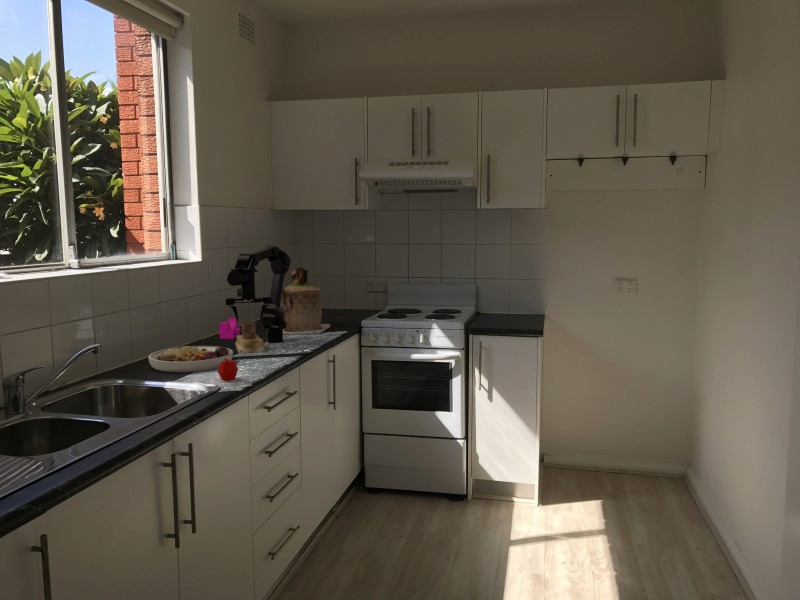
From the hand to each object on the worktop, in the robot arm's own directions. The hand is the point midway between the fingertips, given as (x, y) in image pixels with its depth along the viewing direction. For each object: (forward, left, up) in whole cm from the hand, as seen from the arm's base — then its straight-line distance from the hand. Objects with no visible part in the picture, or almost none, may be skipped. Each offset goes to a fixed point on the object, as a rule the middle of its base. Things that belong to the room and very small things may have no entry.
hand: (249, 321), depth 279 cm
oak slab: (0, 0, -10) cm, 10 cm away
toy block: (+6, -38, -13) cm, 40 cm away
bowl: (+23, +24, -13) cm, 36 cm away
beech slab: (0, 0, -13) cm, 13 cm away
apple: (+11, +54, -12) cm, 56 cm away
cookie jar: (-28, -42, -13) cm, 52 cm away
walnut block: (0, 0, -7) cm, 7 cm away
